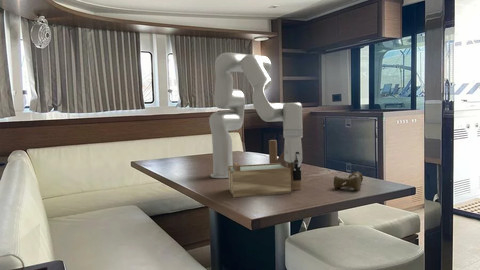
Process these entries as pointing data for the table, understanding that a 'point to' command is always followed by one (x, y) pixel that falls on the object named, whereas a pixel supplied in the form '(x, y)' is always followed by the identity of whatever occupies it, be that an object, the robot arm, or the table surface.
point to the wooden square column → (294, 184)
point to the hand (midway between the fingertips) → (294, 178)
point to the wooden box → (259, 181)
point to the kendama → (349, 181)
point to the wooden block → (275, 154)
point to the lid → (254, 167)
